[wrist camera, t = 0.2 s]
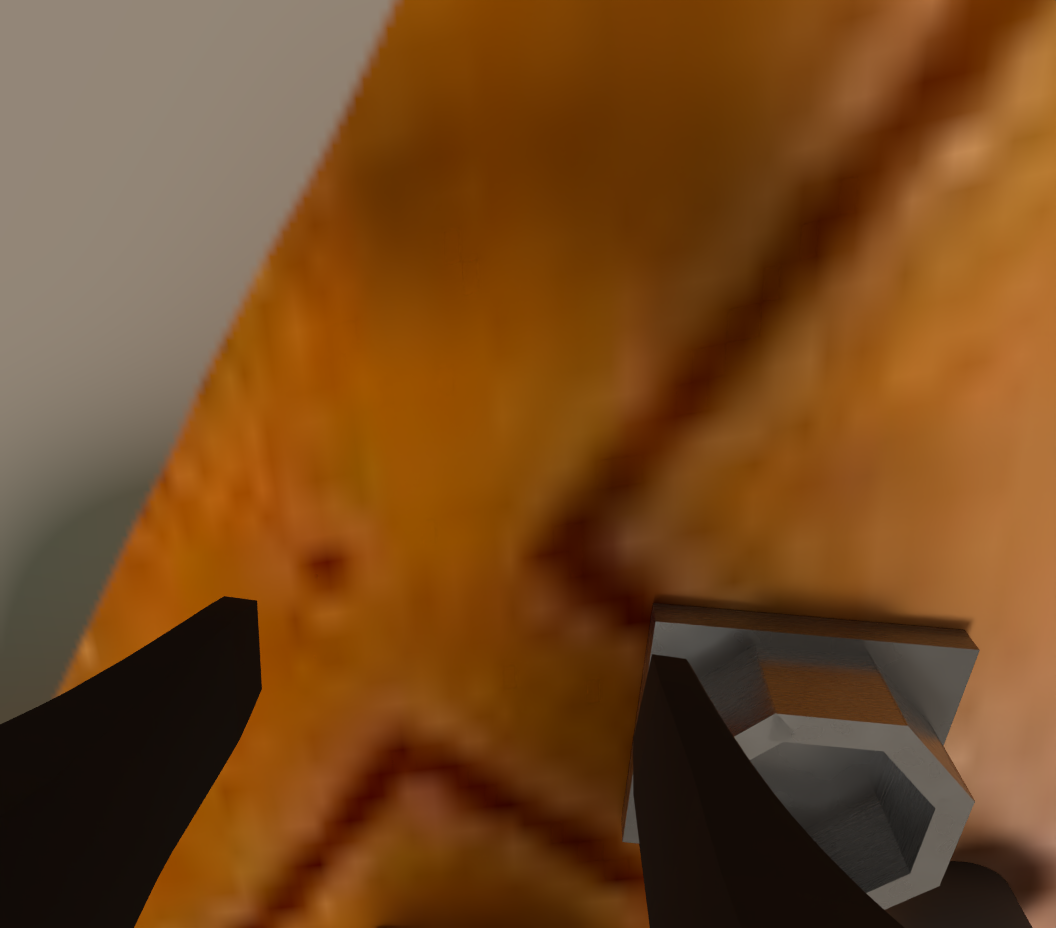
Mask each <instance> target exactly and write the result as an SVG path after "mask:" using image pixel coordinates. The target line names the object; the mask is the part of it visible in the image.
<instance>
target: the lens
mask: <svg viewBox="0 0 1056 928" xmlns="http://www.w3.org/2000/svg"><path fill="white" fill-rule="evenodd" d="M885 911H886V912H887V913H888V914H889V915H891V916H892V917H893V918H894V919H895V920H896V921H898V922H899V923H900V924H901V925H902V926H903V927H905V928H1032V926H1031V924H1030V923H1029V921H1028V919H1027V917H1026V915H1025V914H1024V912H1023V910H1022V908H1021V906H1020V905H1019V903H1018V901H1017V899H1016V897H1015V896H1014V894H1013V892H1012V890H1011V888H1010V887H1009V885H1008V883H1007V882H1006V881H1005V880H1004V879H1003V878H1002V877H1001V876H1000V875H999V874H997V873H996V872H994V871H992V870H990V869H988V868H986V867H983V866H981V865H977V864H973V863H967V862H956V861H951V862H949V864H948V867H947V869H946V871H945V874H944V876H943V879H942V881H941V883H940V886H938V887H936V888H934V889H931V890H929V891H927V892H924V893H922V894H920V895H917V896H915V897H913V898H911V899H908V900H906V901H904V902H901V903H899V904H897V905H894V906H892V907H890V908H888V909H885Z"/></svg>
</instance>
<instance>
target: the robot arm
mask: <svg viewBox="0 0 1056 928" xmlns="http://www.w3.org/2000/svg"><path fill="white" fill-rule="evenodd" d="M261 690H262V684H261V666H260V648H259V629H258V611H257V601H255V600H248V599H241V598H233V597H226V596H224V597H222V598H220V599H219V600H217V601H215V602H214V603H212V604H210V605H209V606H207V607H206V608H204V609H203V610H201V611H199V612H198V613H196V614H195V615H193V616H192V617H190V618H189V619H187V620H185V621H184V622H182V623H181V624H179V625H178V626H176V627H175V628H173V629H171V630H170V631H168V632H167V633H165V634H164V635H162V636H160V637H159V638H157V639H156V640H154V641H152V642H151V643H149V644H148V645H146V646H144V647H143V648H141V649H140V650H138V651H136V652H135V653H133V654H132V655H130V656H128V657H127V658H125V659H123V660H122V661H120V662H118V663H116V664H115V665H113V666H111V667H110V668H108V669H106V670H104V671H103V672H101V673H99V674H97V675H96V676H94V677H92V678H90V679H89V680H87V681H85V682H83V683H82V684H80V685H78V686H76V687H75V688H73V689H71V690H69V691H67V692H65V693H63V694H62V695H60V696H58V697H56V698H54V699H52V700H50V701H48V702H46V703H44V704H42V705H40V706H38V707H36V708H34V709H32V710H30V711H28V712H26V713H24V714H22V715H19V716H17V717H15V718H13V719H11V720H9V721H7V722H5V723H2V724H0V928H134V926H135V924H136V922H137V920H138V918H139V916H140V914H141V912H142V910H143V908H144V906H145V903H146V901H147V899H148V897H149V895H150V893H151V891H152V889H153V887H154V885H155V883H156V881H157V879H158V877H159V875H160V873H161V871H162V869H163V868H164V866H165V864H166V862H167V860H168V859H169V857H170V855H171V853H172V851H173V850H174V848H175V846H176V845H177V843H178V842H179V840H180V838H181V837H182V835H183V833H184V832H185V830H186V828H187V827H188V825H189V823H190V822H191V820H192V818H193V817H194V815H195V813H196V812H197V810H198V808H199V807H200V805H201V804H202V802H203V800H204V799H205V797H206V795H207V794H208V792H209V790H210V789H211V787H212V785H213V784H214V782H215V780H216V779H217V777H218V775H219V774H220V772H221V770H222V769H223V767H224V765H225V764H226V762H227V760H228V759H229V757H230V755H231V754H232V752H233V750H234V748H235V747H236V745H237V743H238V741H239V740H240V738H241V735H242V733H243V731H244V729H245V727H246V724H247V722H248V720H249V718H250V716H251V713H252V711H253V708H254V706H255V704H256V701H257V699H258V697H259V694H260V692H261ZM633 795H634V804H635V812H636V821H637V829H638V837H639V845H640V853H641V860H642V868H643V876H644V884H645V892H646V900H647V907H648V915H649V924H650V928H905V927H903V926H902V925H901V924H900V923H899V922H898V921H896V920H895V919H894V918H893V917H892V916H891V915H889V914H888V913H887V912H886V911H885V910H884V909H883V908H882V907H881V906H880V905H878V904H877V903H876V902H875V901H874V900H873V899H872V898H871V897H870V896H869V895H868V894H866V893H865V892H864V891H863V890H862V889H861V888H860V887H859V886H858V885H857V884H856V883H855V882H854V881H853V880H852V879H851V878H850V877H849V876H848V875H847V874H846V873H845V872H844V871H843V870H842V869H841V868H840V867H839V866H838V865H837V864H836V863H835V862H834V861H833V860H832V859H831V858H830V857H829V856H828V855H827V854H826V853H825V852H824V851H823V850H822V849H821V847H820V846H819V845H818V844H817V843H816V842H815V841H814V840H813V839H812V838H811V837H810V835H809V834H808V833H807V832H806V831H805V830H804V829H803V827H802V826H801V825H800V824H799V823H798V822H797V821H796V819H795V818H794V817H793V816H792V815H791V814H790V812H789V811H788V810H787V809H786V808H785V806H784V805H783V804H782V803H781V801H780V800H779V799H778V798H777V796H776V795H775V794H774V792H773V791H772V790H771V788H770V787H769V786H768V784H767V783H766V782H765V780H764V779H763V778H762V776H761V775H760V774H759V772H758V771H757V770H756V768H755V767H754V765H753V764H752V763H751V761H750V760H749V758H748V757H747V756H746V754H745V753H744V751H743V750H742V748H741V747H740V745H739V744H738V742H737V741H736V739H735V738H734V736H733V735H732V733H731V732H730V730H729V729H728V727H727V725H726V724H725V722H724V721H723V719H722V718H721V716H720V714H719V713H718V711H717V709H716V708H715V706H714V704H713V703H712V701H711V700H710V698H709V696H708V694H707V693H706V691H705V689H704V688H703V686H702V684H701V682H700V681H699V679H698V677H697V675H696V674H695V672H694V670H693V668H692V666H691V665H690V663H689V662H688V661H687V659H684V658H677V657H670V656H662V655H655V654H652V656H651V660H650V665H649V670H648V674H647V679H646V683H645V688H644V692H643V697H642V701H641V706H640V710H639V715H638V719H637V724H636V729H635V733H634V738H633Z"/></svg>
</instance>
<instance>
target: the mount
mask: <svg viewBox="0 0 1056 928" xmlns="http://www.w3.org/2000/svg"><path fill="white" fill-rule="evenodd" d="M978 653H979V649H978V647H977V646H976V645H975V643H974V642H973V641H972V639H971V638H970V637H969V635H968V634H967V633H966V631H965V630H957V629H945V628H934V627H922V626H910V625H899V624H887V623H876V622H864V621H853V620H841V619H830V618H818V617H807V616H795V615H784V614H772V613H761V612H749V611H738V610H726V609H715V608H703V607H691V606H680V605H668V604H657V603H653V607H652V614H651V621H650V628H649V634H648V641H647V648H646V655H645V662H644V669H643V676H642V682H641V689H640V696H639V703H638V710H637V717H636V723H635V729H636V724H637V719H638V715H639V710H640V706H641V701H642V697H643V692H644V688H645V683H646V679H647V674H648V670H649V665H650V660H651V656H652V654H655V655H662V656H670V657H677V658H684V659H687V661H688V662H689V663H690V665H691V666H692V668H693V670H694V672H695V674H696V675H697V677H698V679H699V681H700V682H701V684H702V686H703V688H704V689H705V691H706V693H707V694H708V696H709V698H710V700H711V701H712V703H713V704H714V706H715V708H716V709H717V711H718V713H719V714H720V716H721V718H722V719H723V721H724V722H725V724H726V725H727V727H728V729H729V730H730V732H731V733H732V735H733V736H734V738H735V739H736V741H737V742H738V744H739V745H740V747H741V748H742V750H743V751H744V753H745V754H746V756H747V757H748V758H749V760H750V761H751V763H752V764H753V765H754V767H755V768H756V770H757V771H758V772H759V774H760V775H761V776H762V778H763V779H764V780H765V782H766V783H767V784H768V786H769V787H770V788H771V790H772V791H773V792H774V794H775V795H776V796H777V798H778V799H779V800H780V801H781V803H782V804H783V805H784V806H785V808H786V809H787V810H788V811H789V812H790V814H791V815H792V816H793V817H794V818H795V819H796V821H797V822H798V823H799V824H800V825H801V826H802V827H803V829H804V830H805V831H806V832H807V833H808V834H809V835H810V837H811V838H812V839H813V840H814V841H815V842H816V843H817V844H818V845H819V846H820V847H821V849H822V850H823V851H824V852H825V853H826V854H827V855H828V856H829V857H830V858H831V859H832V860H833V861H834V862H835V863H836V864H837V865H838V866H839V867H840V868H841V869H842V870H843V871H844V872H845V873H846V874H847V875H848V876H849V877H850V878H851V879H852V880H853V881H854V882H855V883H856V884H857V885H858V886H859V887H860V888H861V889H862V890H863V891H864V892H865V893H866V894H868V895H869V896H870V897H871V898H872V899H873V900H874V901H875V902H876V903H877V904H878V905H880V906H881V907H882V908H883V909H884V910H885V909H888V908H890V907H892V906H894V905H897V904H899V903H901V902H904V901H906V900H908V899H911V898H913V897H915V896H917V895H920V894H922V893H924V892H927V891H929V890H931V889H934V888H936V887H938V886H940V883H941V881H942V879H943V876H944V874H945V871H946V869H947V867H948V864H949V862H950V859H951V857H952V855H953V852H954V850H955V848H956V845H957V843H958V840H959V838H960V836H961V833H962V831H963V828H964V826H965V824H966V821H967V819H968V817H969V814H970V812H971V809H972V807H973V805H974V803H975V800H974V799H973V797H972V795H971V793H970V792H969V790H968V788H967V786H966V785H965V783H964V781H963V779H962V778H961V776H960V774H959V772H958V771H957V769H956V767H955V766H954V764H953V762H952V760H951V759H950V757H949V755H948V753H947V752H946V750H945V748H944V746H943V745H944V743H945V740H946V737H947V735H948V732H949V730H950V727H951V724H952V722H953V719H954V716H955V714H956V711H957V708H958V706H959V703H960V700H961V698H962V695H963V693H964V690H965V687H966V685H967V682H968V679H969V677H970V674H971V671H972V669H973V666H974V664H975V661H976V658H977V656H978ZM634 733H635V730H634ZM633 738H634V737H633ZM622 841H623V842H629V843H639V837H638V829H637V821H636V812H635V804H634V795H633V744H632V751H631V758H630V764H629V771H628V778H627V785H626V792H625V799H624V805H623V812H622Z"/></svg>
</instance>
